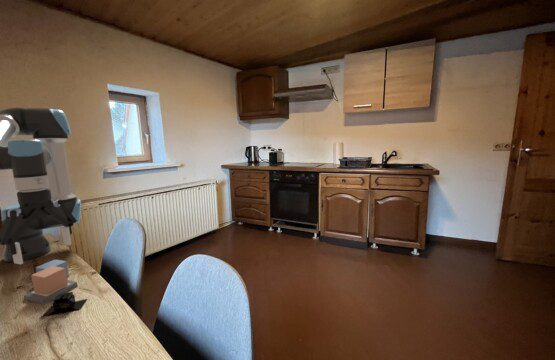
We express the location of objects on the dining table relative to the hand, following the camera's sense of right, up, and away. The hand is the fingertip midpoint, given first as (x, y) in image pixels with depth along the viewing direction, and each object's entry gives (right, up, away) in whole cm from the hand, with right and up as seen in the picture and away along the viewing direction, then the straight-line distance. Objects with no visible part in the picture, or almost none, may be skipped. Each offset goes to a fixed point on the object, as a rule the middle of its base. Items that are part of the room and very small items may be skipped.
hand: (45, 253), depth 80 cm
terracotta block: (0, -12, +2) cm, 12 cm away
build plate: (+12, -16, -6) cm, 20 cm away
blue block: (-6, -13, +10) cm, 17 cm away
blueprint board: (0, -14, +2) cm, 14 cm away
